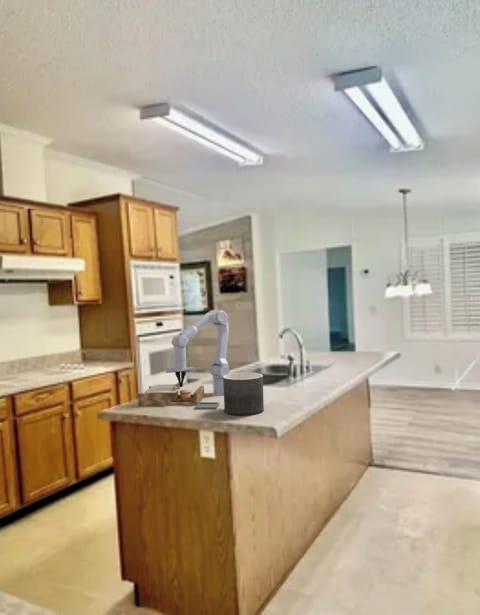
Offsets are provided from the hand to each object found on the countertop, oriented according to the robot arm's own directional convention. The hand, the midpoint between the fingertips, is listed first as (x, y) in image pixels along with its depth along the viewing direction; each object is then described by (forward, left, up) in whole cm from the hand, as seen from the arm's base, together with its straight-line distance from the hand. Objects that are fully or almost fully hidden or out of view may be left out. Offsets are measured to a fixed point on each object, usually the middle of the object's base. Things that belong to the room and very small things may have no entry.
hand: (181, 386), depth 242 cm
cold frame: (+5, 0, -7) cm, 9 cm away
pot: (-2, 0, -7) cm, 7 cm away
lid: (+8, 0, -1) cm, 9 cm away
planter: (-33, +19, -8) cm, 39 cm away
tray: (-15, +12, -7) cm, 21 cm away
